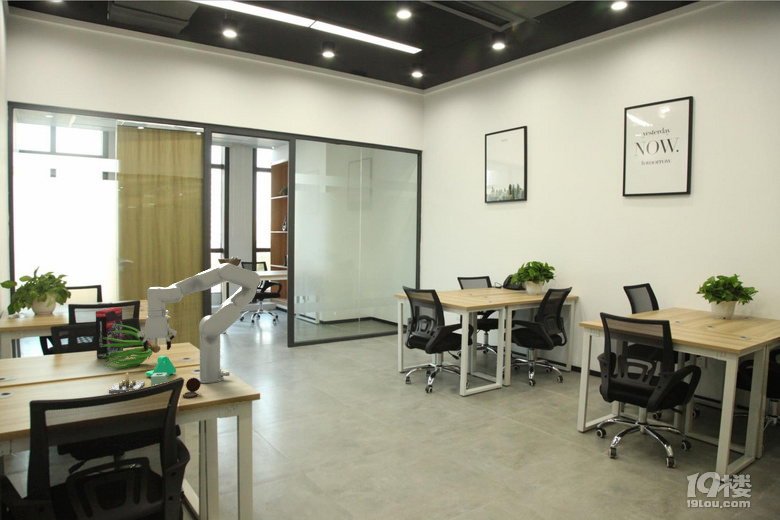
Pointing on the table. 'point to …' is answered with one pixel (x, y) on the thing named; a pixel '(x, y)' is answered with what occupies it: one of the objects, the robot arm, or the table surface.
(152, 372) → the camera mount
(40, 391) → the table surface
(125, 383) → the chassis
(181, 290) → the robot arm
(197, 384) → the compass
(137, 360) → the decorative plant
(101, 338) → the graphics card box
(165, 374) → the pale green block
